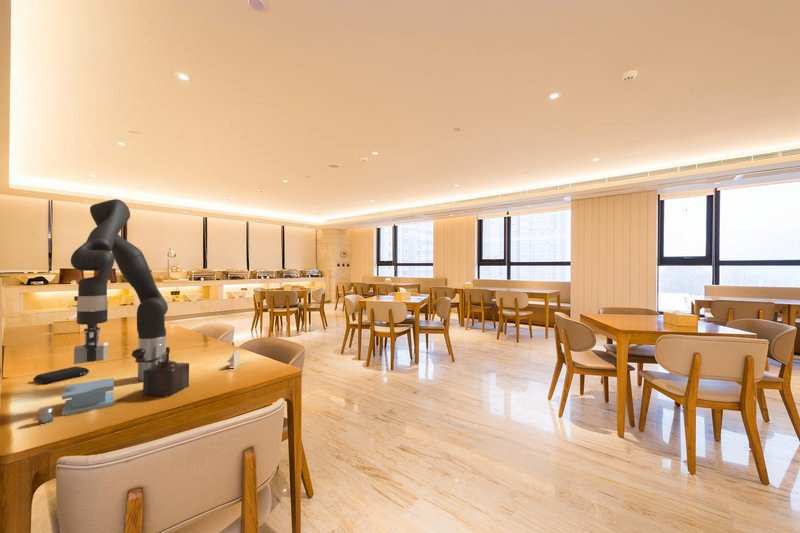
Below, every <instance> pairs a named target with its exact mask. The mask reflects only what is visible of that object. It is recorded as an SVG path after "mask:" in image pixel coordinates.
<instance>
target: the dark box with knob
mask: <svg viewBox="0 0 800 533" xmlns="http://www.w3.org/2000/svg"><path fill="white" fill-rule="evenodd" d="M145 353H146V350H145V349H142V348H138V347H137V348H135V349H134V350H133V351H132V352H131V357H133V358H134V359H135V360H134V362H135V363H137V364H138V363H139V362H142V363H150V362H154V361H157V360H159V359H161V358H163V357H164V356H166V360H165V361H163V362H160V361H158V364H156V365H153V366H152V367H151V368H148V369H146V370H144V371H143V381H142V382H143V383H142V396H143V397H144V396H145V397H153V398H154V397H155V398H167V397H166V396H170V397H172V396H174V395H176V394H178V393H180V392H182V391H184V390H185V389H187V388H189V387H190V363H189V362H176V361H174V360H170V353H171V348H170V347H169V346H166V352H165V353H164V354H163V355H162V356H160V357H158V358H155V359H153V360H145V358H144V354H145ZM188 386H189V387H188ZM186 387H187V388H186ZM184 388H185V389H184ZM183 389H184V390H183ZM181 390H182V391H181ZM179 391H180V392H179ZM177 392H178V393H177ZM175 393H176V394H175ZM173 394H174V395H173ZM171 395H172V396H171Z"/></svg>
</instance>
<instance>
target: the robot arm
mask: <svg viewBox="0 0 800 533" xmlns="http://www.w3.org/2000/svg"><path fill="white" fill-rule="evenodd" d="M89 213H90V215H91V217H92V219H93V222H94V223H95V224H96V226H95V227H94V228H93V229H92V230H91V231H90V233H89V235H88V236H87V239H86V242H84V243H82V244H81V245H80V246H79V247H77V249H76V250H74V251H73V253H72V255H71V257H70V264H71V266H72V267H73V268H74V270H77V271H82V272H83V271H85V272H86V271H87V272H88V271H89V272H94V271H95V272H98V273H97V274H96V275H95V276H92V277H85V278H81V279H79V280H78V284H77V285H78V287H77V288H78V289H77V290H78V294H77V296H78V297H77V301H76V324H77V325H80V326H81V325H84V326H85V325H86V328H83V336H84V344H86V351H87V362H88V363H91V362H90V361H95V360H96V349H97V344H98V343H100V342H99V341H100V333H101V327H98V324H103V323H106V322H108V312H109V311H108V308H109V305H108V302H109V301H108V281H109V278H110V277H109V276H110V274H111V272H112V269H113V267H114V265H115V264H116V265H117V267H118V269H119V271H120V273H121V275H122V277H123V278H124V279H125V280H126V281H127V282H128V283H129V285H130V286H131V287H132V288H133V290H134V292H135V293H136V295H137V298H138V300H139V305H138V306H137V309H136V331H137V334H138V338H137V339H138V340H137V341H138V342H137V343H138V345H137V349H138V348H142V349H145V350H146V353H145V354H144V358H145V360H153V359H155V358H158V357H160V356H162V355H163V354H164V353H165V352H166V348H167V329H166V326H165V325H166V324H165V318H166V316H165V315H166V314H167V313H168V310H169V307H168V303H167V301H166V299H164V297H163V295H162V293H161V291H160V290H159V289H158V287H157V285H156V282H155V279H154V277H153V274H152V271H151V269H150V267H149V264H148V262H147V259H146V257H145V256H144V253H143V252H142V250H141V249H140V248H139V247H137V246H135V244H133V243H131V242H130V241H127V240H126V239H125V238H123V237H122V236H121V235H120V234H119V233H120V232H121V230H122V229H123V228H124V227H125V225H126V223H127V222H128V221H129V220H130V217H131V211H130V209H129V206H128V205H127V204H126V203H125V202H124V201H123V200H121V199H117V198H116V199H115V198H114V199H110V200H105V201H102V202H98V203H94V204H92V205H91V206H90V207H89ZM89 343H95V345H90V346H89ZM165 360H166V356H164V357H163V358H161V359H159V360H157V361H154V362H150V363H142V362H139V363H137V381H139V382H143V371H144V370H146V369H148V368H151V367H152V366H153V365H156V364H158V361H160V362H163V361H165ZM95 362H96V361H95Z"/></svg>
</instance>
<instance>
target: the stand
mask: <svg viewBox="0 0 800 533" xmlns="http://www.w3.org/2000/svg"><path fill="white" fill-rule="evenodd" d="M114 381H115V380H114V377H112V378H111V377H110V378H104V379H99V380H97V379H96V380H92V381H86V382H79V383H74V384H68V385H66V386H65V388H64V390H63V393H62V395H61V400H65V402H64V405H63V408H62V411H61V416H66V415H72V414H76V413H77V414H78V413H81V412H86V411H92V410H96V409H101V408H106V407H111V406H114Z"/></svg>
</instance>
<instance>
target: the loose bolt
mask: <svg viewBox="0 0 800 533" xmlns="http://www.w3.org/2000/svg"><path fill="white" fill-rule="evenodd" d="M37 414H38V415H37V420H38V423H37V424H38V425H39V424H43V425H47V424H46V423H48V424H50V422H51V423H53V421H54V406H46V407H43V408H40V409H38V412H37Z"/></svg>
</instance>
